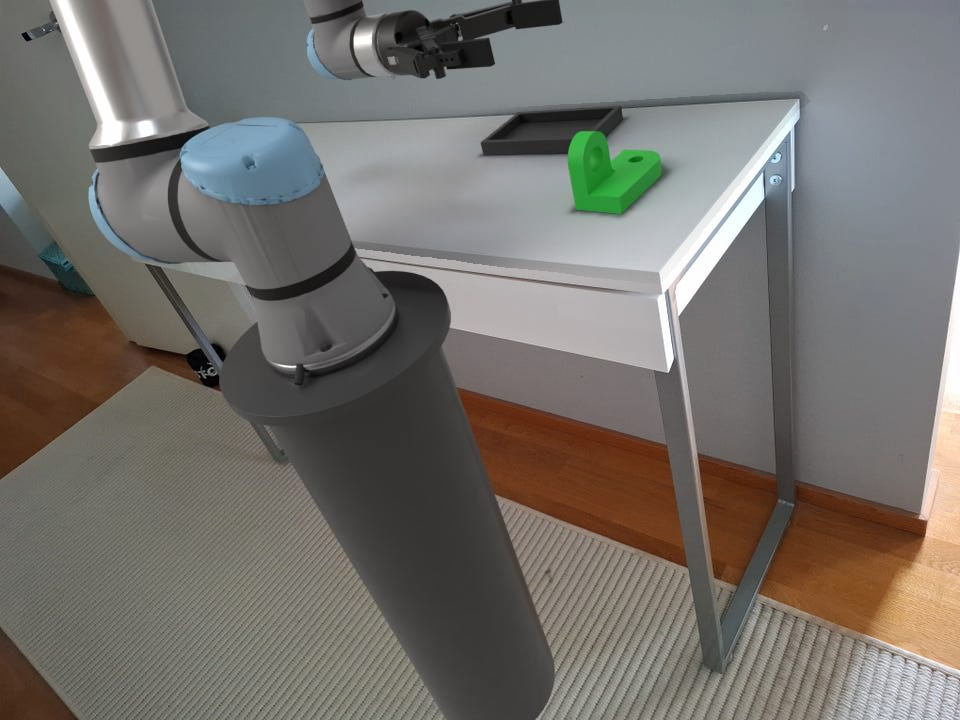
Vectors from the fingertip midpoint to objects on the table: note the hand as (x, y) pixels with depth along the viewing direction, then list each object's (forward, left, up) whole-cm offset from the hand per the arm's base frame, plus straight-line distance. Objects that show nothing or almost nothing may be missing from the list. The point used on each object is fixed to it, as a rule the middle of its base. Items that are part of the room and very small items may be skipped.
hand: (526, 30), depth 74 cm
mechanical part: (-1, -10, -18) cm, 21 cm away
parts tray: (+15, +8, -18) cm, 25 cm away
